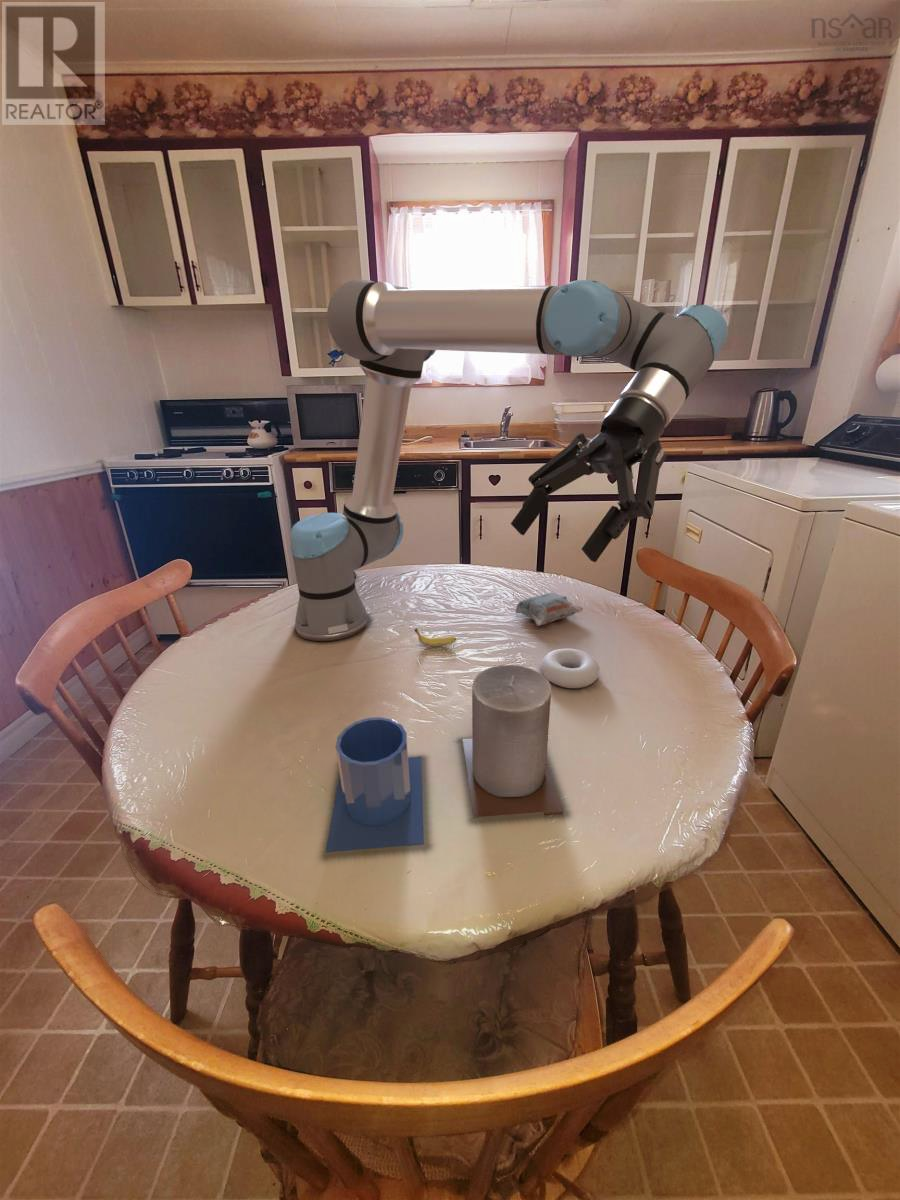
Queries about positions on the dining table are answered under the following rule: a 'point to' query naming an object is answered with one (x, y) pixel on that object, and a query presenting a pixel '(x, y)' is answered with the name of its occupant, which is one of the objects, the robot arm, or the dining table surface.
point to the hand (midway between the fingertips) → (549, 541)
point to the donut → (574, 677)
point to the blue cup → (374, 770)
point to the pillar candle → (510, 730)
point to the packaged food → (547, 608)
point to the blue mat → (393, 834)
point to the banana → (435, 640)
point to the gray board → (493, 805)
